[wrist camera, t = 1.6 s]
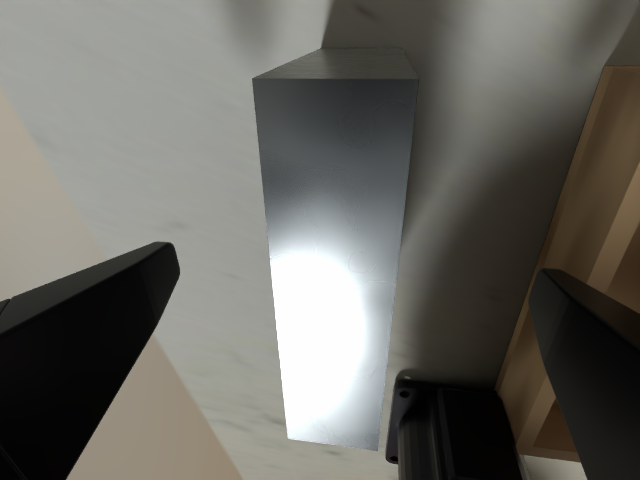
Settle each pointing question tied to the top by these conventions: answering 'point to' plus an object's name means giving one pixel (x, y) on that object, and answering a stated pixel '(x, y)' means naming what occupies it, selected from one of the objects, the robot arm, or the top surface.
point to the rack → (582, 254)
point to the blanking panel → (335, 230)
